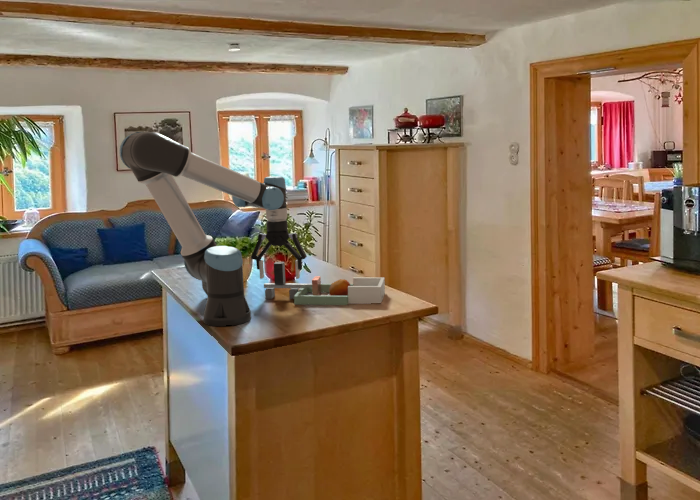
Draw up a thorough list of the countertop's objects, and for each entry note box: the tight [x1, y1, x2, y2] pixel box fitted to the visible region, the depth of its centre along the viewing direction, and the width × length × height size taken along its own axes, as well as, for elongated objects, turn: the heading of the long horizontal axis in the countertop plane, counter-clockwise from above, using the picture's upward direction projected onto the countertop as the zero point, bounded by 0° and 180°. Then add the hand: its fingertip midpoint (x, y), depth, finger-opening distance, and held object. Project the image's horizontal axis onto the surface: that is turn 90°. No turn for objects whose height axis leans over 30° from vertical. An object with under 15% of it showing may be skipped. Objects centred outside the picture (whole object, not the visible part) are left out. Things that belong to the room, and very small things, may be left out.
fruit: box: [328, 278, 351, 296], centre depth 230 cm, size 8×8×8 cm
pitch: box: [264, 283, 353, 306], centre depth 231 cm, size 31×18×3 cm, turn 82°
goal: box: [348, 276, 386, 305], centre depth 228 cm, size 12×14×6 cm
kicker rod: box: [263, 261, 322, 296], centre depth 231 cm, size 20×6×12 cm, turn 82°
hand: (279, 278), depth 232 cm, fingers open, 13 cm apart
